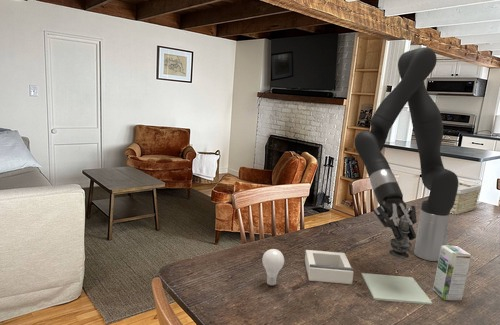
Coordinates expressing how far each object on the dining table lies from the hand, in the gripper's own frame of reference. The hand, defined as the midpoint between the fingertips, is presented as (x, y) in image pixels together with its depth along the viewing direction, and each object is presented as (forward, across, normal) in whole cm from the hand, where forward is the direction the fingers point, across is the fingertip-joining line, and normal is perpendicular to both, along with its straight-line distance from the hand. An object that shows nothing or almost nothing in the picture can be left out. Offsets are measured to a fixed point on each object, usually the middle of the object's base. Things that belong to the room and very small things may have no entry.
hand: (406, 239), depth 99 cm
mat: (+11, 0, +13) cm, 17 cm away
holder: (+1, -15, +22) cm, 27 cm away
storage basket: (-35, +91, +59) cm, 114 cm away
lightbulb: (+5, -36, +20) cm, 41 cm away
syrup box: (+15, +14, +9) cm, 22 cm away
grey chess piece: (+3, 0, +5) cm, 6 cm away
